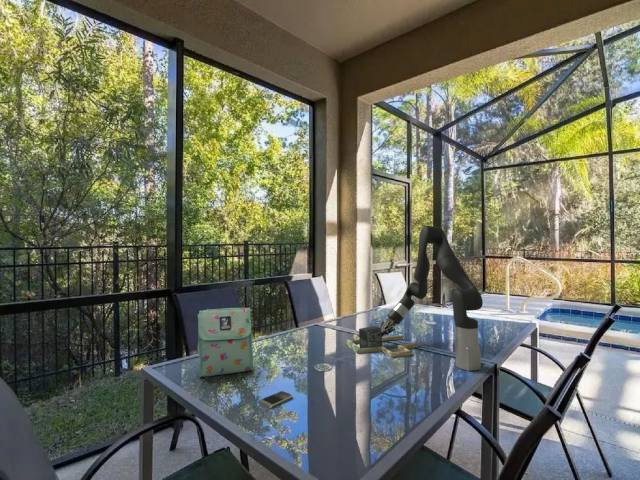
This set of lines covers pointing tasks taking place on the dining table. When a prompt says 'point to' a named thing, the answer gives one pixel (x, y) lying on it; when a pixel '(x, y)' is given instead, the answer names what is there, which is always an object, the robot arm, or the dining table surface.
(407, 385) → the dining table surface
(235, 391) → the dining table surface
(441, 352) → the dining table surface
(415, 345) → the trap course
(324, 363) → the dining table surface
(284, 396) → the cell phone
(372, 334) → the small box
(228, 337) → the lunch bag
